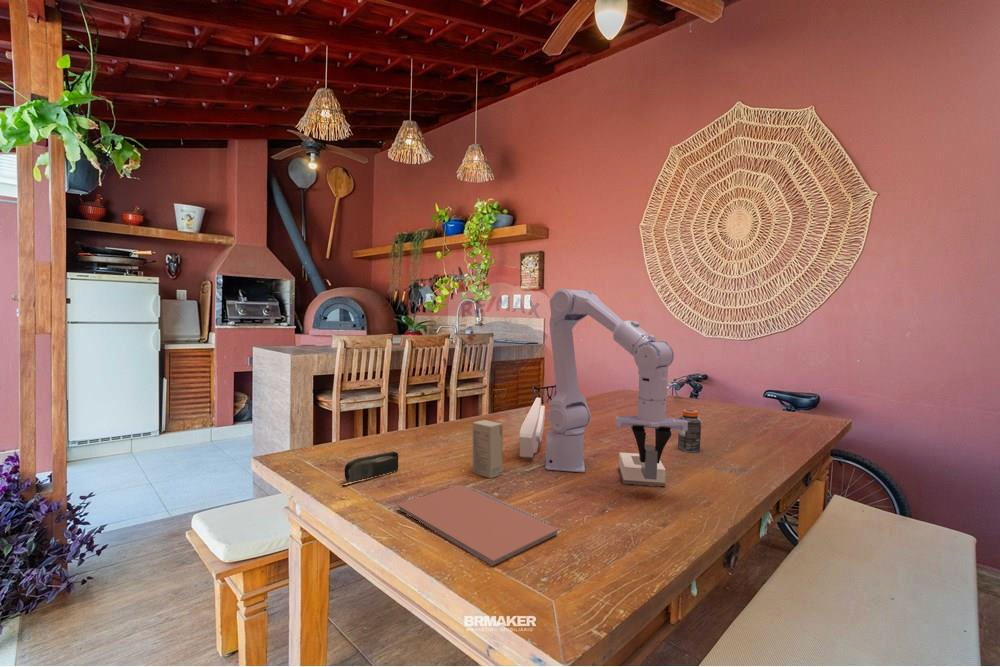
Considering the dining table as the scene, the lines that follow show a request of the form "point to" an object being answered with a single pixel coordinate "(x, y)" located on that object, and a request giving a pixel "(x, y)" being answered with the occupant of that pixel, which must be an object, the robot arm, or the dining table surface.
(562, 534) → the dining table surface
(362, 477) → the black rounded block
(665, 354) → the robot arm
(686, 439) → the pill bottle
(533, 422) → the shelf bracket
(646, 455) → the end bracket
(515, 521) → the notebook
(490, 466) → the skincare box
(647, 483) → the post block
